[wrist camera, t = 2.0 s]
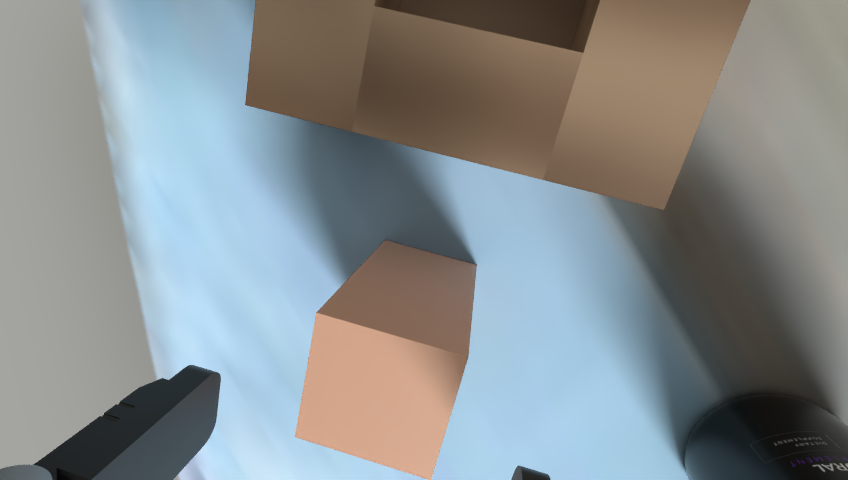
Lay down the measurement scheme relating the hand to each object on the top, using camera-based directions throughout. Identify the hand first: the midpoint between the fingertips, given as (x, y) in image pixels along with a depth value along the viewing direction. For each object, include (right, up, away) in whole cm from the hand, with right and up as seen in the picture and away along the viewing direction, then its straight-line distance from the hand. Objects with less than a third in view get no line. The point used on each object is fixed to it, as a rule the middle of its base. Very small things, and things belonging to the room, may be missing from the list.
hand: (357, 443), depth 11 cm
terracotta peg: (+2, +3, +9) cm, 10 cm away
